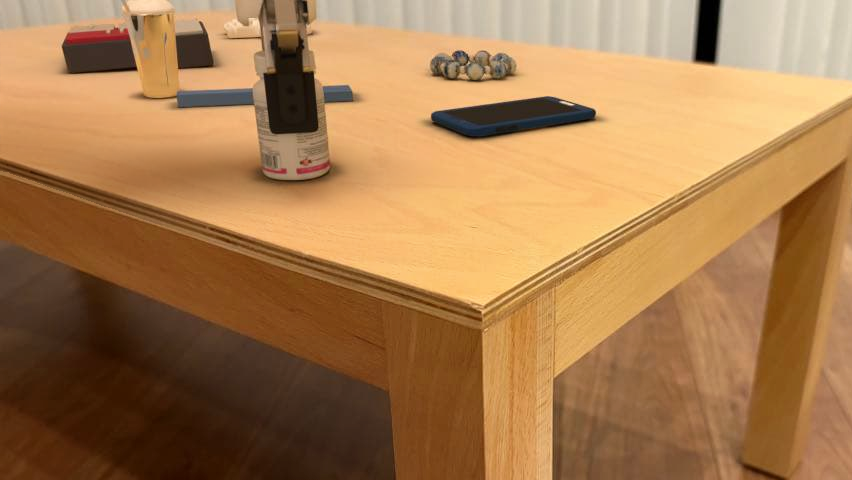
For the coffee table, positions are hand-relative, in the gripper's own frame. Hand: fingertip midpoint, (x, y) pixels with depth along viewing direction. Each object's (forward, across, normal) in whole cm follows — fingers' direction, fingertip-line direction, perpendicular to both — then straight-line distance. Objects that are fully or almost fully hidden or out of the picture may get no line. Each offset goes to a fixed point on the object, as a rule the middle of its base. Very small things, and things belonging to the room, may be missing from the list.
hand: (291, 120), depth 61 cm
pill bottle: (+4, 0, 0) cm, 4 cm away
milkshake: (+4, -30, -11) cm, 32 cm away
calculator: (+4, -49, -14) cm, 52 cm away
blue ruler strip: (+4, -24, -1) cm, 25 cm away
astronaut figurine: (+4, -70, +1) cm, 70 cm away
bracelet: (+4, -34, +22) cm, 41 cm away
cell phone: (+4, -12, +20) cm, 23 cm away
